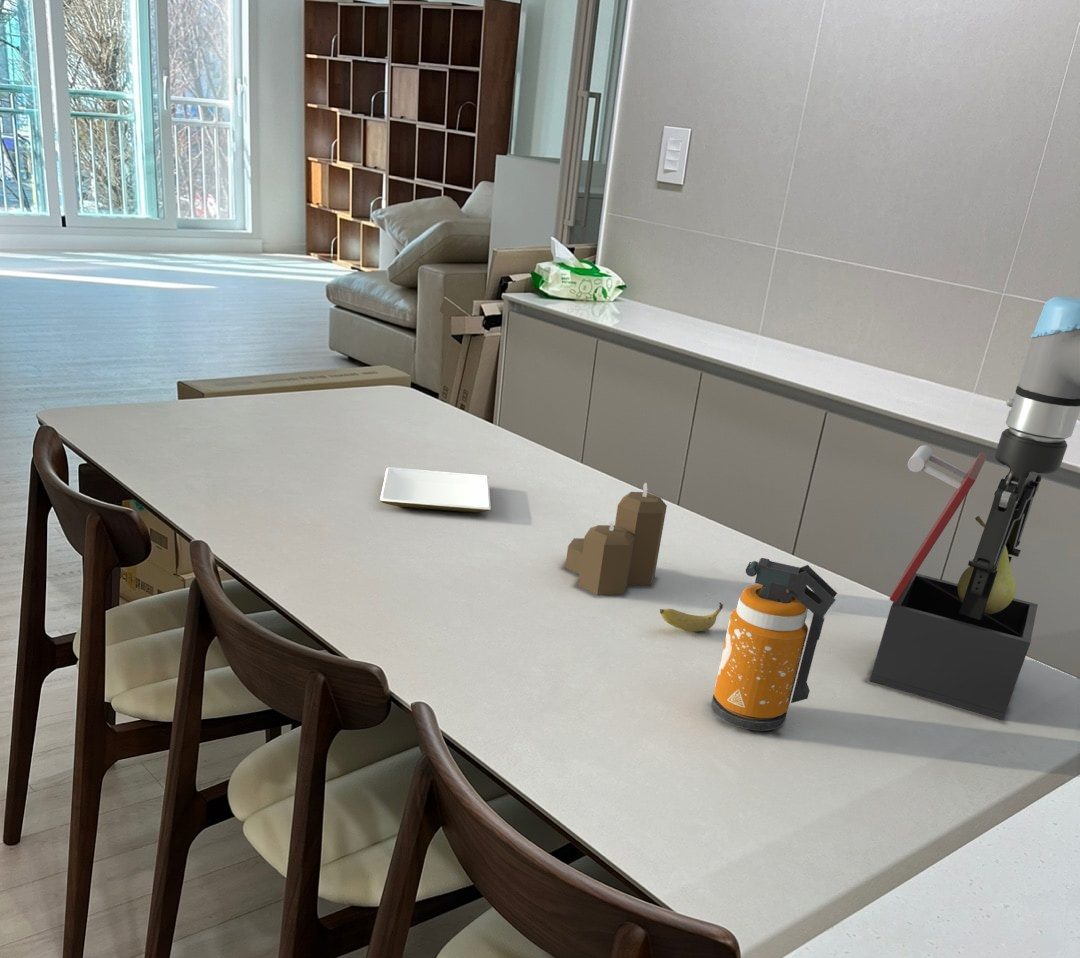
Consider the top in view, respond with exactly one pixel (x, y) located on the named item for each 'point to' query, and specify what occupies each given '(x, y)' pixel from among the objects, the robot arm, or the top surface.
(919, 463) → the lid
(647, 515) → the candle
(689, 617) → the banana
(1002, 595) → the fruit
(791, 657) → the canister
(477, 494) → the plate
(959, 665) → the dark grey open box
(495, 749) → the top surface
